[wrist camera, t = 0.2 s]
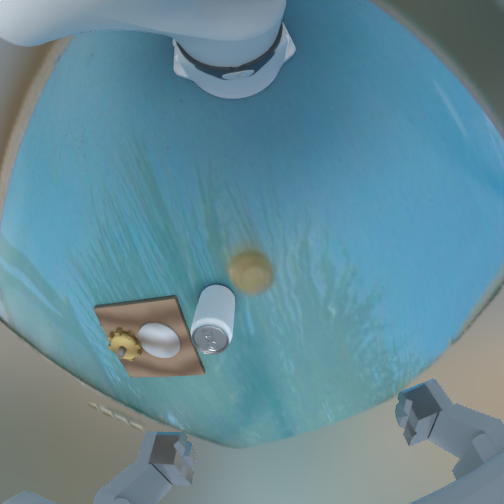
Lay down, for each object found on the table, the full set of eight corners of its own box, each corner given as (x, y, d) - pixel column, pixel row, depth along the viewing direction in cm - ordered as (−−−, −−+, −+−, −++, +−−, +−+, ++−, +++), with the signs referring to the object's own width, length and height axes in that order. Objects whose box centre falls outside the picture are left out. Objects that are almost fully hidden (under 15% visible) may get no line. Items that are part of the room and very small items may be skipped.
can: (207, 316, 53) (198, 359, 42) (195, 287, 51) (181, 328, 40) (239, 309, 53) (237, 352, 42) (229, 279, 50) (223, 319, 39)
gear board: (95, 305, 53) (84, 320, 48) (176, 295, 51) (169, 312, 46) (131, 373, 60) (124, 390, 55) (205, 370, 59) (201, 388, 54)
